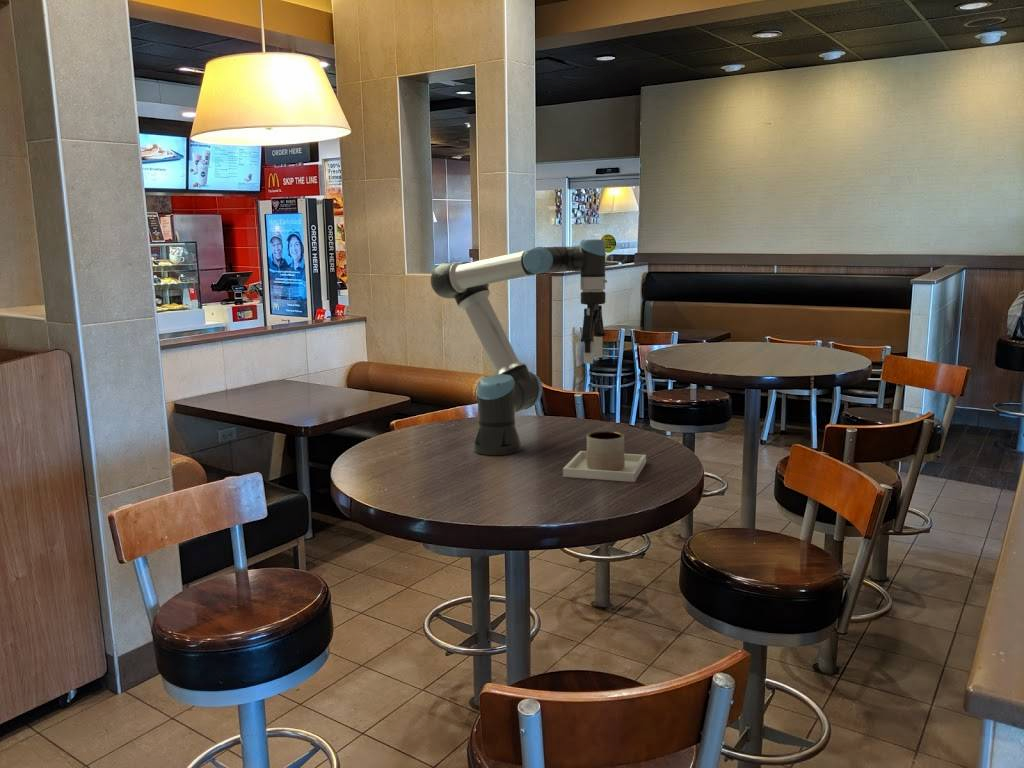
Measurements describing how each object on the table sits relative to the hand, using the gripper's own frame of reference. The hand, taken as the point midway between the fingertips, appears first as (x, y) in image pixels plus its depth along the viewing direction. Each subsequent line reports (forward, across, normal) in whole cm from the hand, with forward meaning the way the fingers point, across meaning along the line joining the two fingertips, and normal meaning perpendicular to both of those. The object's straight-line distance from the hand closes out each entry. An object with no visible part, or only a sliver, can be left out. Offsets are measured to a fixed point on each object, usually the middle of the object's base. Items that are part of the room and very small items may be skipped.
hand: (593, 360), depth 242 cm
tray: (+29, -20, -8) cm, 36 cm away
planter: (+28, -20, -8) cm, 36 cm away
